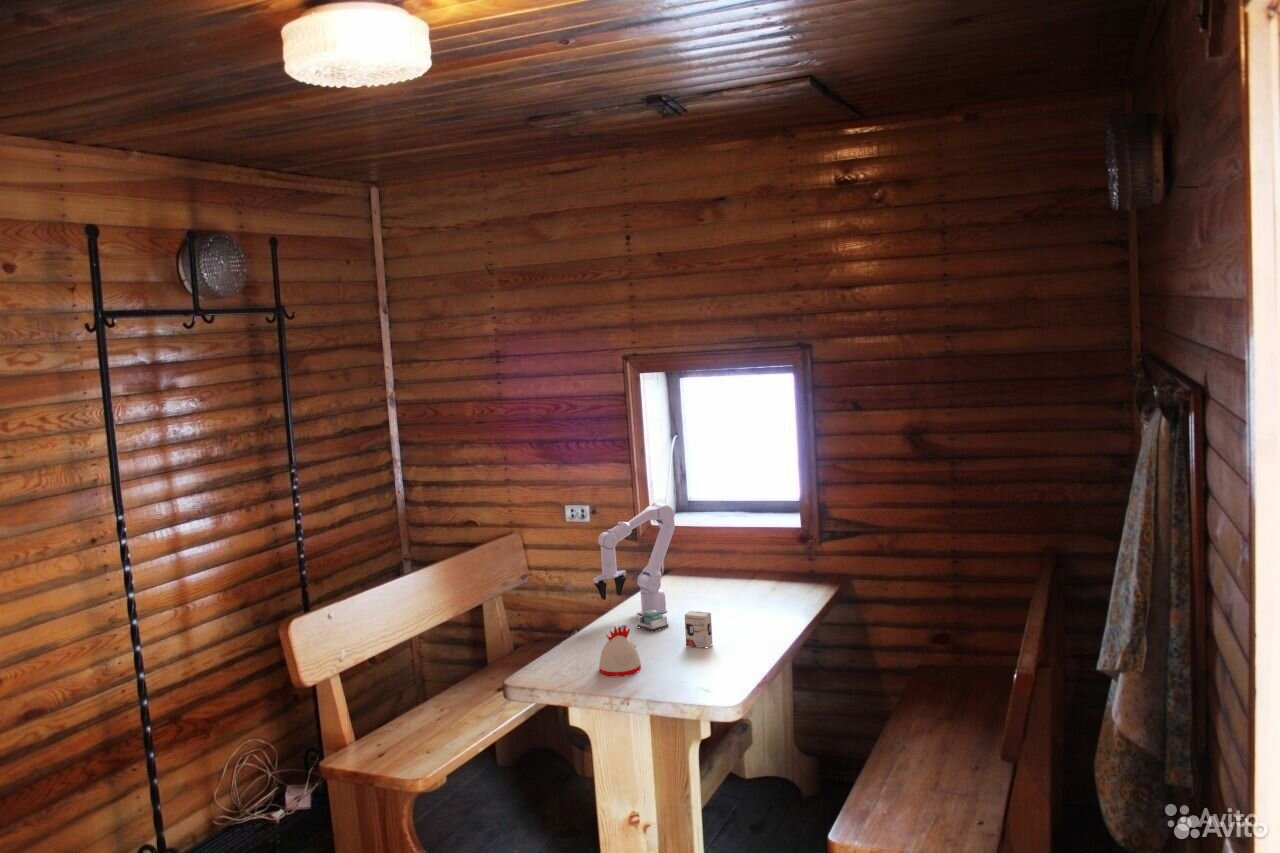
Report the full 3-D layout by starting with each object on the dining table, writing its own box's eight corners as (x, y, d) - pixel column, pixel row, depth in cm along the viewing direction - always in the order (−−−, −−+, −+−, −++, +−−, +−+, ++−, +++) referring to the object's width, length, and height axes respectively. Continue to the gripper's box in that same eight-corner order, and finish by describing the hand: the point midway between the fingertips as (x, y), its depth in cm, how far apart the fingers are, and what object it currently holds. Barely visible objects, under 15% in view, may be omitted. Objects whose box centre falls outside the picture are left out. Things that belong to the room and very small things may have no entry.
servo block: (650, 621, 391) (649, 607, 391) (663, 625, 385) (662, 610, 384) (642, 623, 389) (641, 609, 388) (655, 627, 382) (654, 613, 382)
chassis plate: (653, 622, 393) (652, 612, 393) (668, 626, 386) (667, 616, 386) (637, 627, 388) (636, 617, 388) (652, 632, 381) (651, 621, 381)
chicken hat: (645, 672, 337) (642, 628, 336) (605, 679, 333) (602, 634, 332) (634, 660, 350) (631, 617, 349) (595, 666, 347) (592, 623, 345)
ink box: (685, 646, 361) (683, 614, 360) (691, 642, 366) (689, 610, 364) (707, 648, 357) (705, 616, 356) (713, 644, 362) (711, 612, 360)
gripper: (600, 568, 389) (602, 603, 390) (629, 560, 398) (632, 594, 399) (589, 565, 395) (591, 599, 396) (618, 558, 404) (621, 591, 405)
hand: (611, 597), depth 398 cm, fingers open, 7 cm apart
